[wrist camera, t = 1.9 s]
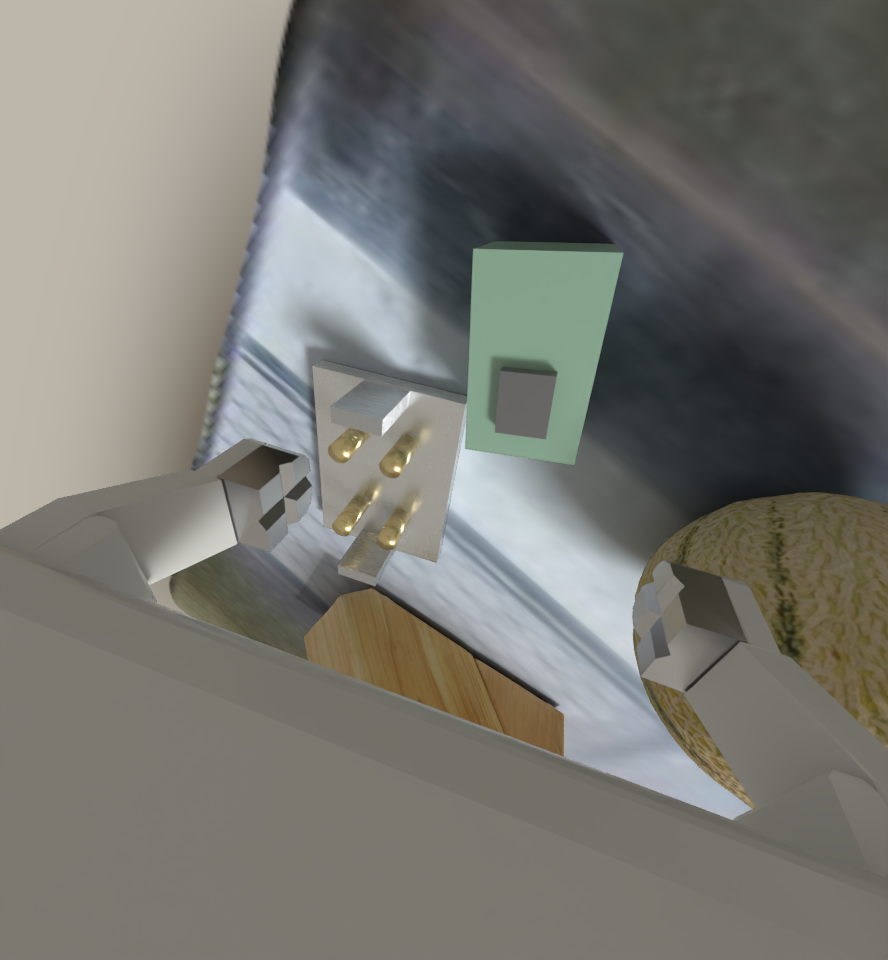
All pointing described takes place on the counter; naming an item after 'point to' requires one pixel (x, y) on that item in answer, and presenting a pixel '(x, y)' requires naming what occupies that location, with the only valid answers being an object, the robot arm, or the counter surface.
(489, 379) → the green box
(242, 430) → the counter surface
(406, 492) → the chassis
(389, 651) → the knife block
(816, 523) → the cantaloupe
